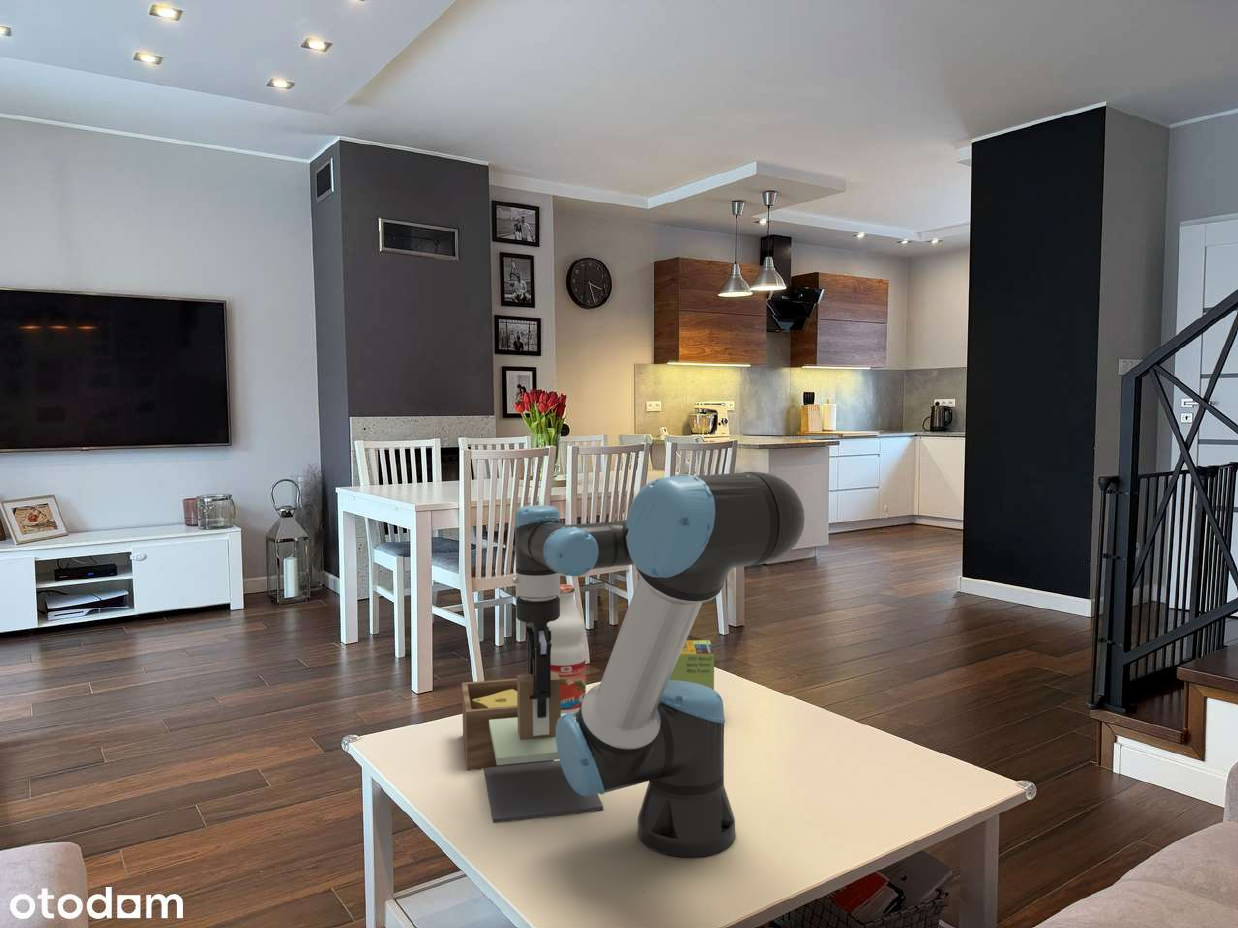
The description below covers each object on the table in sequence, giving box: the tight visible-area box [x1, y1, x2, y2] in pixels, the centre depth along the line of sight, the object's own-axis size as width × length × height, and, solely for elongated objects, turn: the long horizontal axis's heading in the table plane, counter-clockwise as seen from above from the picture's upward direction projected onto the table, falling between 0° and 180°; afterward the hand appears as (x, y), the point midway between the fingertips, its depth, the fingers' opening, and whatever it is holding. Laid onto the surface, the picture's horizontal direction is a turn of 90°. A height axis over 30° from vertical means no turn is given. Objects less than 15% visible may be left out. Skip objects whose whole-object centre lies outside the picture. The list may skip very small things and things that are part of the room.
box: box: [461, 678, 555, 771], centre depth 166 cm, size 17×16×11 cm
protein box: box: [669, 639, 715, 690], centre depth 182 cm, size 10×15×16 cm
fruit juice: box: [547, 583, 587, 714], centre depth 184 cm, size 9×9×28 cm
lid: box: [489, 672, 576, 765], centre depth 147 cm, size 17×16×11 cm
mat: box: [483, 759, 604, 823], centre depth 148 cm, size 20×18×1 cm
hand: (539, 728), depth 148 cm, fingers closed on lid, 4 cm apart
